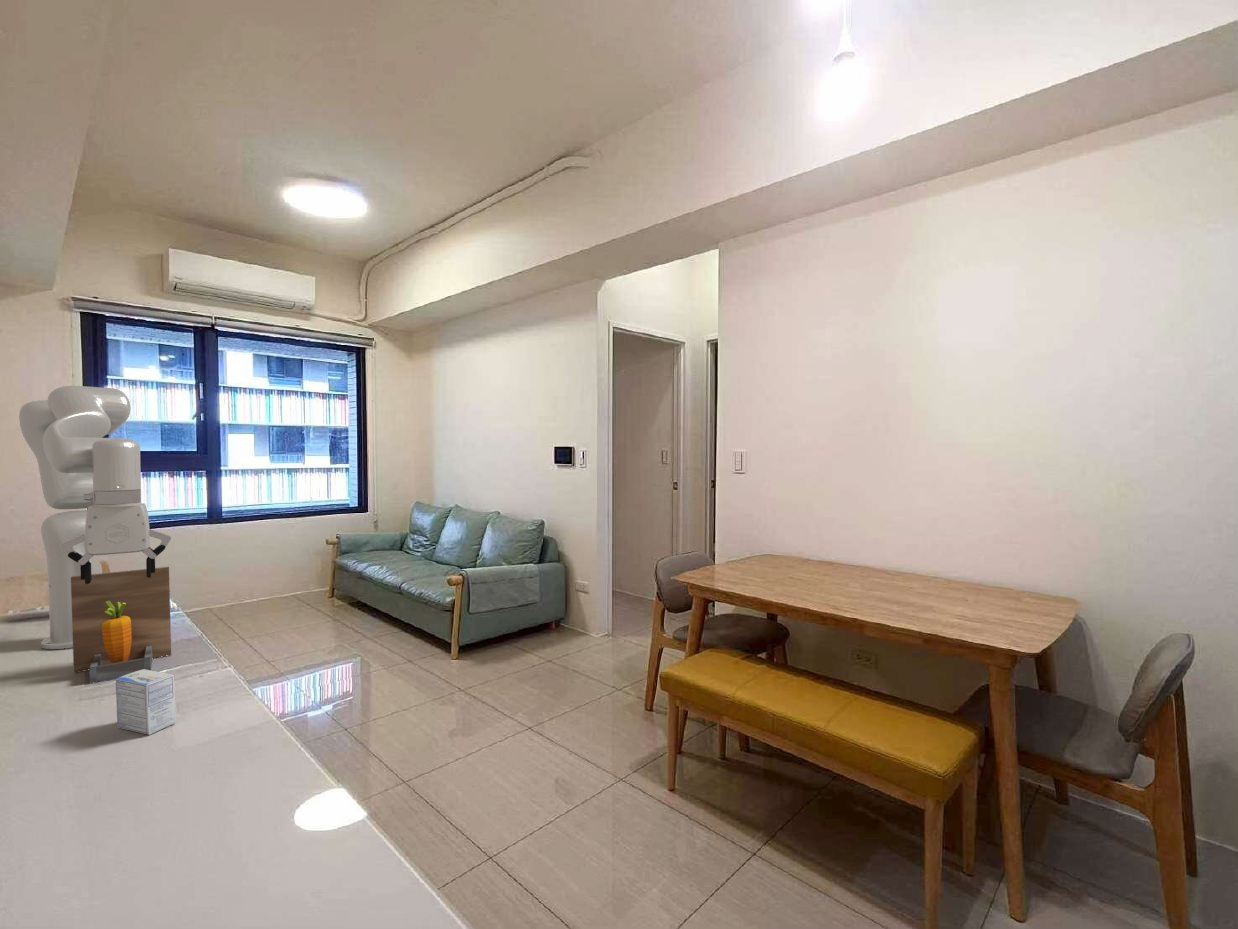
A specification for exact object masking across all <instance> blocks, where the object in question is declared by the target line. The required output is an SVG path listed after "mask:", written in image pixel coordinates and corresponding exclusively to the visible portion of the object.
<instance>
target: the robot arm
mask: <svg viewBox="0 0 1238 929" xmlns="http://www.w3.org/2000/svg"><path fill="white" fill-rule="evenodd" d="M131 410H132V409H131V402H130V400H129V398H128V396H127V394H125V393H124V392H123V391H122V390H120V389H117V388H114V387H100V386H99V387H98V386H97V387H96V386H85V385H63V386H59V387H57V388H55V389H53V390H52V391H51V392H50V393H49V394H48V396H47V399H42V400H40V399H39V400H33V401H30V402H27V403H24V404H23V405H22V406H21V407H20V410H19V415H18V420H19V428H20V431H21V433H22V436H23V438H24V441H25V442H26V444H27V445H28V446H29V448H30V450H31V452H32V453H33V454H34V456H35V458H36V460H37V463H38V465H37V466H38V471H39V477H40V483H41V488H42V489H41V490H42V494H43V498H44V501H45V503H46V504H47V505H48V507H50V508H52V509H55V510H69V511H62V512H57V513H54V514H50V515H49V516H48V517H46V518H44V520H42V523H41V525H40V533H41V539H42V543H43V547H44V551H45V556H46V562H47V563H46V564H47V581H48V607H49V610H48V611H49V636H48V637H46V638H44V639H43V640H42V641H41V642H40V647H41V648H42V649H46V650H64V648H65V649H73V630H72V598H71V577H72V576H81V580H85V584H89V583H90V582H91V580H92V578H91V574H101V573H102V566H101V564H100V563H99V561H100V560H98V559H96V558H95V557H94V556H105V555H107V556H108V555H116V554H131V553H139V552H141V553H143V554H145V556H147V558H146V560H145V562H146V564H145V565H146V568H145V569H146V573H147V577H148V578H151V573H155V568H156V558H157V557H158V556H159V555H161V553H162V552H164V551H165V549H166V547H167V546H168V545H169V543H170V541H171V539H172V536H171V535H169V534H166V533H162V532H159V531H156V530H153V529H150V521H149V518H150V517H149V513H148V509H147V505H146V503H142V489H141V488H142V482H141V480H142V477H141V476H142V475H141V473H142V472H141V447H140V446H141V445H140V444H139V442H138V441H136V440H133V439H128V438H125V437H122V438H121V437H105V436H106V435H107V436H108V435H111V434H113V433H114V432H116V431H117V430H118V429H119V428H120V427H122V425H123V424H125V423H126V422H127V421H128V419H129V417H130V416H131V415H130V414H131ZM81 509H82V510H81ZM83 509H85V510H83ZM151 537H152V538H154V539H157V540H160V541H161V542H160V543H159V544H158V546H157V547H155V548H154V549H153V548H152V547H151V546H150V544H151Z"/></svg>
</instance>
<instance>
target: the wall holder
mask: <svg viewBox="0 0 1238 929" xmlns="http://www.w3.org/2000/svg"><path fill="white" fill-rule="evenodd" d="M91 578H92V580H91V582H90V583H89V584H85V580H81V576H72V577H71V598H72V630H73V648H72V656H73V673H74V672H76V673H79V672H78V671H81V672H84V671H83V670H87V671H88V672H89V674H88V675H89V684H90V683H91V684H94V683H93V682H96V683H99V682H98V681H102V682H105V681H104V680H107V681H110V680H109V679H112V680H116V679H117V678H119V677H122V676H124V675H127V674H130V673H133V672H136V671H139V670H142V669H145V670H151V671H152V666H151V665H152V664H153V659H152V658H155V659H157V658H156V657H161V656H166V655H171V656H172V634H171V633H172V632H171V628H172V627H171V595H170V594H171V593H170V590H171V589H170V588H171V586H170V567H169V566H161V567H155V573H151V578H148V577H147V573H146V568H142V569H141V568H140V569H134V570H133V569H131V570H123V571H114V572H111V571H110V573H101V574H91ZM106 601H110V602H111V603H112V604H113V606H114V607H115V609H116V611H117V607H116V602H120V603H121V604H122V603H126V605H125V607H124V609H123V611H122V613H121V616H128V617H130V619H131V634H132V641H131V649H130V655H129V658H128V661H123V662H118V663H111V661H110V660H109V658H108V655H107V652H106V649H105V646H104V641H103V634H102V623H103V621H104V620H106V619H109V618H111V616H110V615H108V614H106V613H105V611H108V610H107V609H108V607H107V606H106V604H105V602H106ZM109 612H110V611H109ZM166 657H167V656H166ZM161 658H162V657H161ZM88 669H89V670H88Z"/></svg>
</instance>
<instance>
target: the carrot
mask: <svg viewBox="0 0 1238 929" xmlns="http://www.w3.org/2000/svg"><path fill="white" fill-rule="evenodd" d="M105 604H106V606H107V607H108V609H107V610H108V611H105V613H106V614H108V615H110V616H111V618H109V619H106V620H104V621H103V623H102V634H103V641H104V646H105V649H106V652H107V655H108V658H109V660H110V661H111V663H118V662H123V661H128V658H129V655H130V649H131V641H132V634H131V619H130V617H128V616H121V613H122V611H123V609H124V607H125V605H126V603H122V604H121V603H120V602H116V607H117V611H116V609H115V607H114V606H113V604H112V603H111V602H110V601H106V602H105ZM109 611H110V612H109Z"/></svg>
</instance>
